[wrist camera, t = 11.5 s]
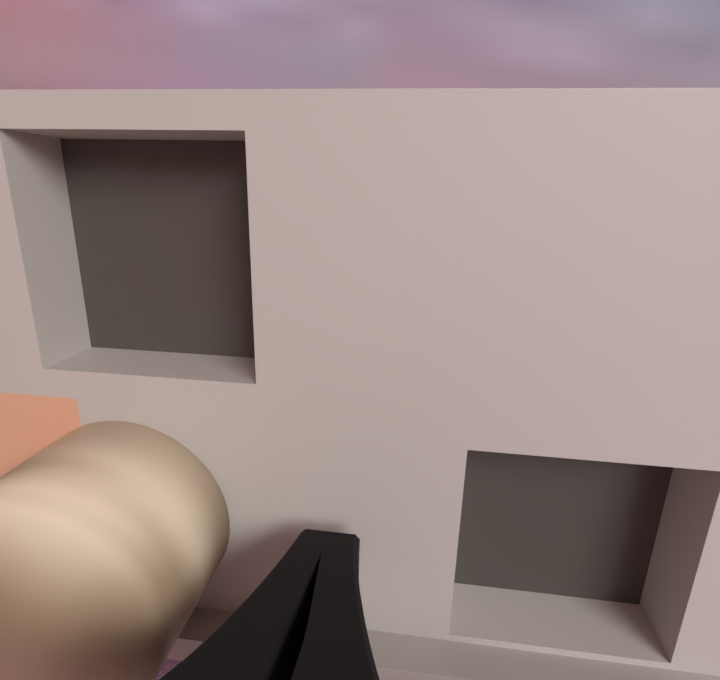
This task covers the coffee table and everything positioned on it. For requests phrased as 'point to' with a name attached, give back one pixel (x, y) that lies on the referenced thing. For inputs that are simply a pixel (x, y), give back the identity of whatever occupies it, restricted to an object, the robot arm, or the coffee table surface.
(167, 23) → the coffee table surface
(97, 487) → the beige rounded knob
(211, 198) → the trap board
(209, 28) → the coffee table surface
